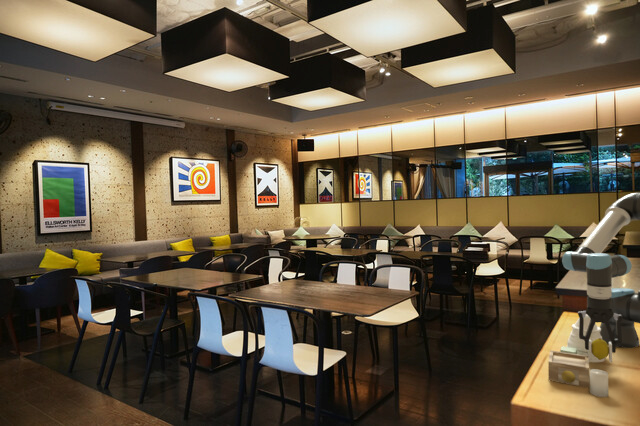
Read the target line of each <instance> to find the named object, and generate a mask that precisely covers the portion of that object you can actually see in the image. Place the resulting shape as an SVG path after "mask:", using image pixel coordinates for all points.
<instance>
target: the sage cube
mask: <svg viewBox="0 0 640 426" xmlns="http://www.w3.org/2000/svg"><path fill="white" fill-rule="evenodd" d="M559 352H564V353H571V354H577V348H571V347H567V346H564V345H562V346H561V348H560V351H559Z"/></svg>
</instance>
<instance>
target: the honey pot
mask: <svg viewBox="0 0 640 426" xmlns="http://www.w3.org/2000/svg"><path fill="white" fill-rule="evenodd" d="M583 319H584V326H583V335H584V336H585V335H586V332H587V329H588V326H589V323H590V320H591V318H590V317H589V316H588V315H587V314H586V315H585V317H584V318H583ZM571 329H572V330H571V331H570V332H569V333H570V335H569V336H568V339H567V342H566V343H567V345H566V347H571V348H577V354H578V355H585V356H588V359H589V350H586V349H585V341H584V340H583V339H580V338H579V318H578V319H577V320H576V322H575V323H572V325H571ZM600 331H601V328H600V326H598V325H597V324H596V323H595V325H594V327H593V330H592V333H591V336H590V339H589V340H591V344H592V342H593V341H594V340H596V339H599V338H601V339H602V336H601V335H600ZM591 356H592V360H589V363H602V362H605V361H606V358H604V359H601V360H599V359H598V358H596V357H595V356H594V355H593V354H592V352H591Z"/></svg>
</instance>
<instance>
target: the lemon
mask: <svg viewBox="0 0 640 426" xmlns="http://www.w3.org/2000/svg"><path fill="white" fill-rule="evenodd" d="M591 352H592V354H593V355H594V356H595V357H596V358H598V359H599V360H601V359H604V358H605V359H606V358H607V357H609V345H608V344H607V343H606V342H605V341H604V340H602V339H601V338H599V339H596V340H594V341H593V342H592V344H591Z"/></svg>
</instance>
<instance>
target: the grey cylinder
mask: <svg viewBox="0 0 640 426" xmlns="http://www.w3.org/2000/svg"><path fill="white" fill-rule="evenodd" d="M589 393H590V394H591V395H593V396H595V397H598V398H607V397H608V396H609V373H608V371H605V370H602V369H598V368H596V369H595V368H590V369H589Z"/></svg>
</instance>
